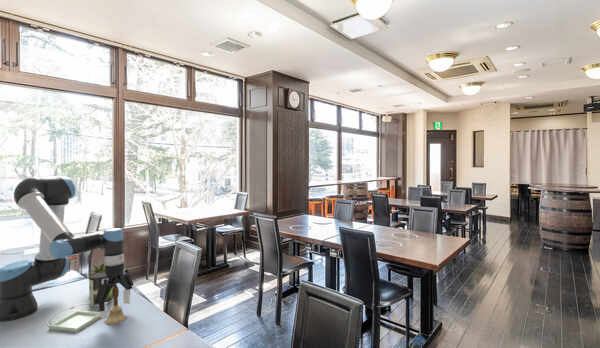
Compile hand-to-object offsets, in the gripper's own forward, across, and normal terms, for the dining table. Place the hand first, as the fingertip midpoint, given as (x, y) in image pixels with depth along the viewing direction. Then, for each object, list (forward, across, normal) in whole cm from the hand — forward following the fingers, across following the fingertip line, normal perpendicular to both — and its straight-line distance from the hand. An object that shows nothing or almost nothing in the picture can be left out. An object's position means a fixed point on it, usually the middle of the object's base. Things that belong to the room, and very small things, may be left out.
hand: (115, 310), depth 137 cm
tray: (+4, -5, +15) cm, 17 cm away
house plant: (+4, +27, +33) cm, 43 cm away
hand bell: (+5, 0, 0) cm, 5 cm away
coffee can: (+5, +15, +21) cm, 26 cm away
